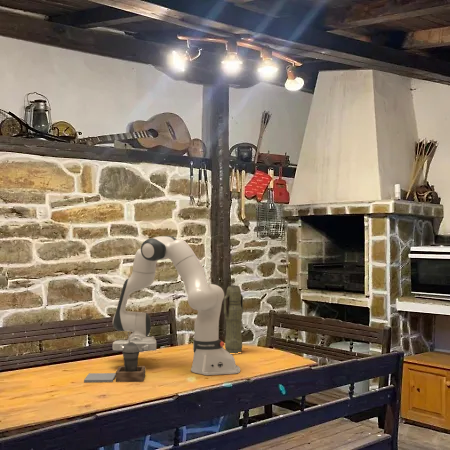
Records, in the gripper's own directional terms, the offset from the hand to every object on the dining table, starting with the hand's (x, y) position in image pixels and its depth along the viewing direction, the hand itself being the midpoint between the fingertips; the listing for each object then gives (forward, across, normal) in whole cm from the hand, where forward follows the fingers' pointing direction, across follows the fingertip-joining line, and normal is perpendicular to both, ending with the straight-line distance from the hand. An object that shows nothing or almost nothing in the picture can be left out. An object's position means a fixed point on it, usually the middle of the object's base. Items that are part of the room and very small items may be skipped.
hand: (133, 348), depth 276 cm
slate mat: (+12, -13, +10) cm, 21 cm away
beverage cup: (+12, 0, +11) cm, 16 cm away
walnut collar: (+12, 0, +10) cm, 16 cm away
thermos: (-41, +48, +10) cm, 64 cm away
